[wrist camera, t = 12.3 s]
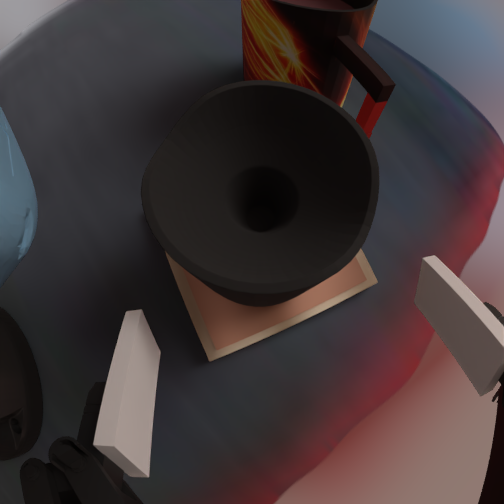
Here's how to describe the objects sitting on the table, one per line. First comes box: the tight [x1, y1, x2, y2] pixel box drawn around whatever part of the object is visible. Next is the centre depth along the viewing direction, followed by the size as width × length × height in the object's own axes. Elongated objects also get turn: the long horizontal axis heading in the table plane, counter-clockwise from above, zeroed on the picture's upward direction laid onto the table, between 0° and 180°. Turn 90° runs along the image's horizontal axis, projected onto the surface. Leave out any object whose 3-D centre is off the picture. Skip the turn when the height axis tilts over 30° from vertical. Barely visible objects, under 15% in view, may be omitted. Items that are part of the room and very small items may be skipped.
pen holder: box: [141, 80, 379, 307], centre depth 16 cm, size 9×9×10 cm
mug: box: [241, 0, 396, 138], centre depth 20 cm, size 10×14×12 cm
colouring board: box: [165, 249, 377, 361], centre depth 22 cm, size 12×12×1 cm
